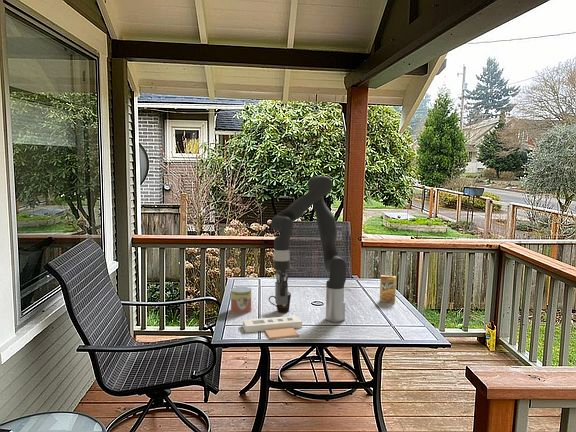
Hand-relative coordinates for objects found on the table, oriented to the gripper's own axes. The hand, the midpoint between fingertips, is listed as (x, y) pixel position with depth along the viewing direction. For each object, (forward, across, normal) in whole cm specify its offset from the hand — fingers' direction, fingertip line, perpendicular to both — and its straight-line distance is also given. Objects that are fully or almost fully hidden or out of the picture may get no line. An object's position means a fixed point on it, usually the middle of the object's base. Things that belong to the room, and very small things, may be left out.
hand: (281, 294), depth 211 cm
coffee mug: (+19, +33, -8) cm, 39 cm away
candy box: (+20, +36, -74) cm, 84 cm away
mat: (+19, 0, 0) cm, 19 cm away
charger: (+4, 0, 0) cm, 4 cm away
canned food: (+19, +38, +13) cm, 45 cm away
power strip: (+19, +10, +2) cm, 22 cm away
